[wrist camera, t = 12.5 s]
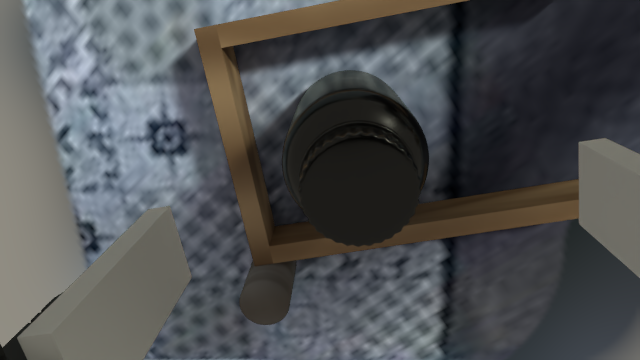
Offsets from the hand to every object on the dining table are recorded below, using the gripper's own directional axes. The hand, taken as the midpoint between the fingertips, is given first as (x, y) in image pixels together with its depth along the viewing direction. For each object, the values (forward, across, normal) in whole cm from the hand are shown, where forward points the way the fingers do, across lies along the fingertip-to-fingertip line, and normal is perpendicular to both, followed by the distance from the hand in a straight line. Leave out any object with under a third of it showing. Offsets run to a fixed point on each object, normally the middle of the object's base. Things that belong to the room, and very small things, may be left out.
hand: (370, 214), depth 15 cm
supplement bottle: (+15, -1, 0) cm, 15 cm away
